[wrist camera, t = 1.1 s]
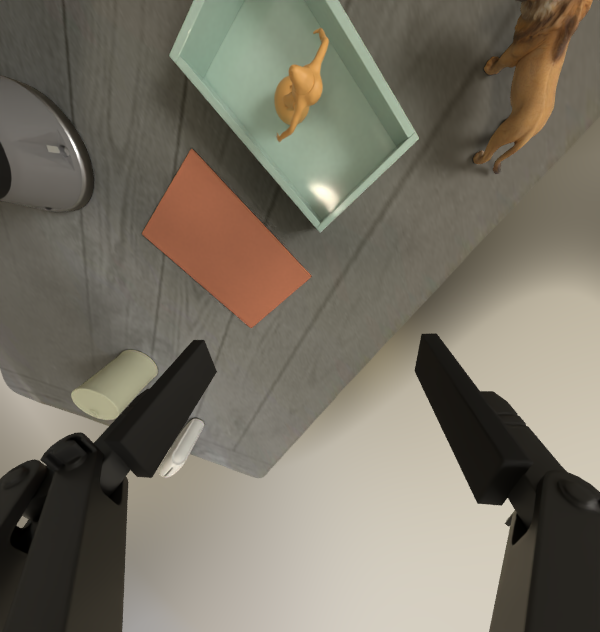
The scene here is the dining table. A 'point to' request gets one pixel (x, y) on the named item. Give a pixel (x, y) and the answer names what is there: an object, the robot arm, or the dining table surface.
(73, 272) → the dining table surface
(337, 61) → the basin
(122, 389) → the can
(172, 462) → the white curved piece
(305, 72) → the figurine
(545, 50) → the lion figurine
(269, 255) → the mat
